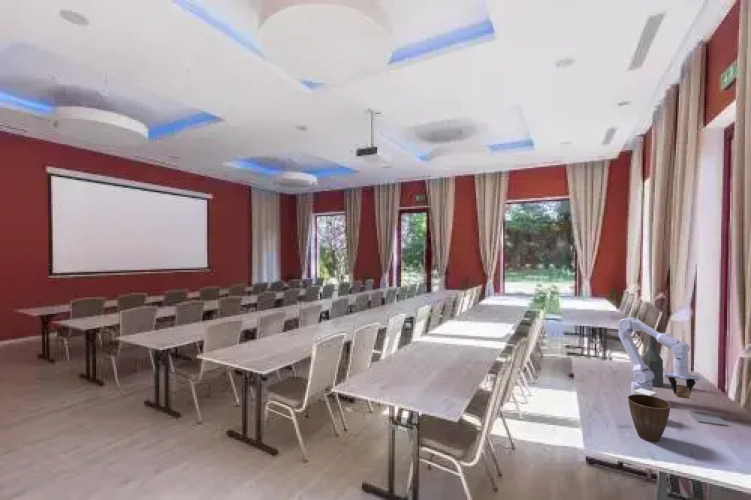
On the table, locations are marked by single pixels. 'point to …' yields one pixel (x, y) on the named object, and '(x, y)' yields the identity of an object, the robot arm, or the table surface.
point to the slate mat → (708, 419)
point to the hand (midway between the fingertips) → (681, 393)
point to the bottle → (654, 363)
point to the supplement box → (645, 392)
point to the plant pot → (649, 416)
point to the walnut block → (682, 391)
